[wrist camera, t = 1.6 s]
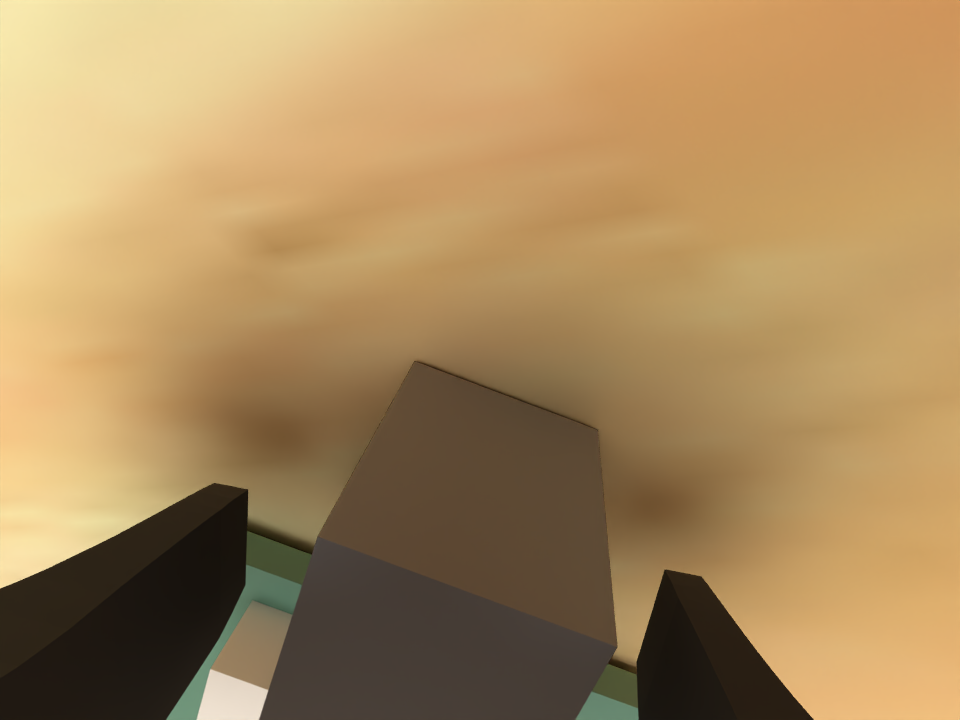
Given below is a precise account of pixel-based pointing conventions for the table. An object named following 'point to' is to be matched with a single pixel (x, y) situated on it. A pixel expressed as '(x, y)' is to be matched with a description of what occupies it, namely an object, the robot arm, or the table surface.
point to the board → (278, 585)
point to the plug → (456, 569)
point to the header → (245, 666)
